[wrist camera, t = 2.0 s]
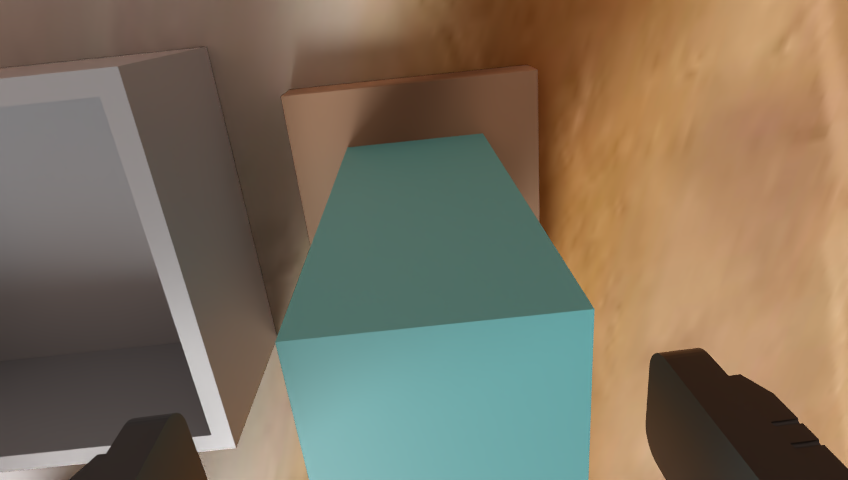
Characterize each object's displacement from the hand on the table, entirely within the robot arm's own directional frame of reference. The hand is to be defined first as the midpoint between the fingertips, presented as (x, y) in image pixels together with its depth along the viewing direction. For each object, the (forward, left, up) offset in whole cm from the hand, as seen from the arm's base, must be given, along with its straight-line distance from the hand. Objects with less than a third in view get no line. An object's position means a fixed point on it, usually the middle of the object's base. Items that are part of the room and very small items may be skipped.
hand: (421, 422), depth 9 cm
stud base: (0, 0, -12) cm, 12 cm away
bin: (+13, 0, -12) cm, 17 cm away
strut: (0, 0, -10) cm, 10 cm away
